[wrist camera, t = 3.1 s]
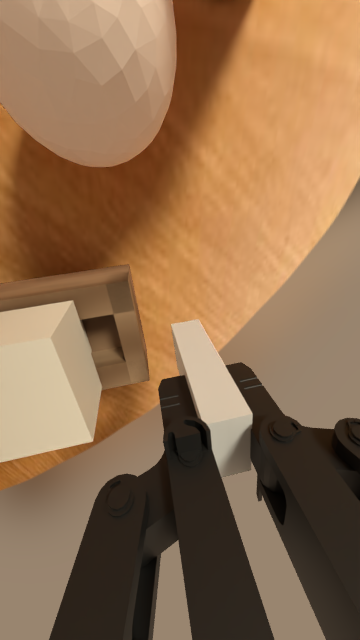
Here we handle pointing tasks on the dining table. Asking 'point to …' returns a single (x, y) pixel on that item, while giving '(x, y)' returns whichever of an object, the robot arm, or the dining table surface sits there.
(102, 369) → the beam
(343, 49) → the dining table surface
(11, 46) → the egg
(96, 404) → the rider
